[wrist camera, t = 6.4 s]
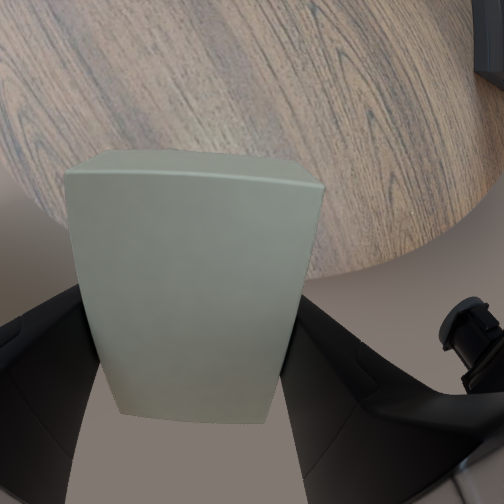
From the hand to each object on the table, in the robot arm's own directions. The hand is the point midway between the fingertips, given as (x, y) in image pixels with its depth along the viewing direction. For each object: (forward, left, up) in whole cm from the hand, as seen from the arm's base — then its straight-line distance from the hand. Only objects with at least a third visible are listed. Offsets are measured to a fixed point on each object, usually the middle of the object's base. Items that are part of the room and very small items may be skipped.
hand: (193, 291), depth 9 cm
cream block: (0, 0, 0) cm, 0 cm away
